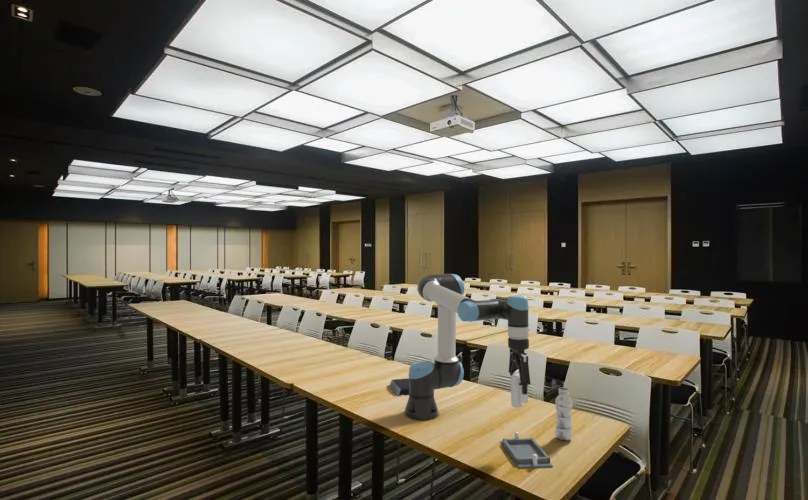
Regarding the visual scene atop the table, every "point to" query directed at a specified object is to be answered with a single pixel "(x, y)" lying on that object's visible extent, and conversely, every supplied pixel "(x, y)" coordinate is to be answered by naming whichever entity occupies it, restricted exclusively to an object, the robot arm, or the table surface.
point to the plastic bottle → (563, 415)
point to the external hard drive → (400, 386)
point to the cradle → (526, 452)
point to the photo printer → (515, 390)
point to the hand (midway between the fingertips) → (519, 397)
